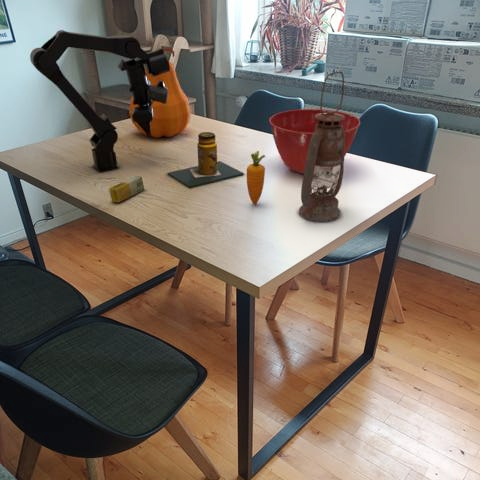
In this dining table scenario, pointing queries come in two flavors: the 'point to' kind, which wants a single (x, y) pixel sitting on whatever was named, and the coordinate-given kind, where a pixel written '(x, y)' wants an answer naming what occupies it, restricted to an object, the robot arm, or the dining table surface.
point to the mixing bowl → (303, 134)
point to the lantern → (324, 166)
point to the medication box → (126, 189)
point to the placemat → (191, 181)
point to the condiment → (206, 156)
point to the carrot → (255, 178)
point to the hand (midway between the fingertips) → (149, 128)
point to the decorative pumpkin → (167, 106)
